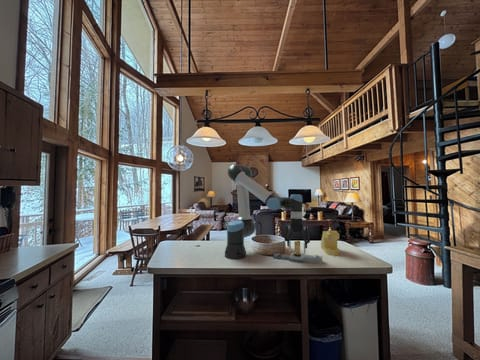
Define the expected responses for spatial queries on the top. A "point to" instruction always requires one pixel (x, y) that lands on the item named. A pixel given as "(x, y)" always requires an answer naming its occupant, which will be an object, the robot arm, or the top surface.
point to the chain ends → (300, 258)
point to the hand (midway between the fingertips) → (297, 252)
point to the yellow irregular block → (330, 242)
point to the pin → (297, 248)
